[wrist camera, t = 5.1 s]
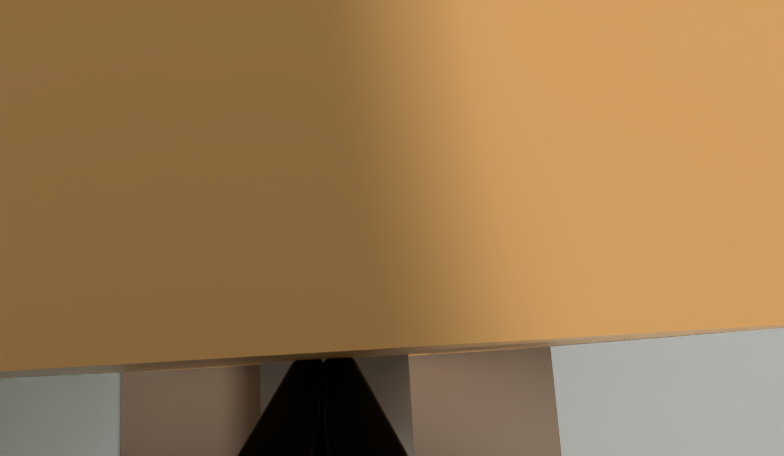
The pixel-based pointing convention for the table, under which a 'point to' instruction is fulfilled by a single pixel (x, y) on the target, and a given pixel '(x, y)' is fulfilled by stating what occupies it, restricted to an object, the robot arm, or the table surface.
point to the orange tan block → (382, 177)
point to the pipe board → (437, 401)
